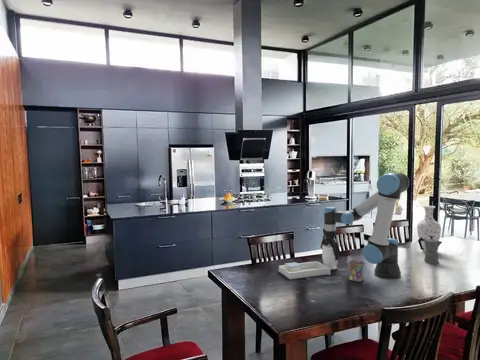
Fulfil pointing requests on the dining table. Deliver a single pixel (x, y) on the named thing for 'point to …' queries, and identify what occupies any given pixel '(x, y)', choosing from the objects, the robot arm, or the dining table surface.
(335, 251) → the robot arm
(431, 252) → the coffeepot
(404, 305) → the dining table surface
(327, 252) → the jar
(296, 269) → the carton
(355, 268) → the candy bag
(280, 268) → the white rectangular tray
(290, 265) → the lid
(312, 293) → the dining table surface
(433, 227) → the vase
